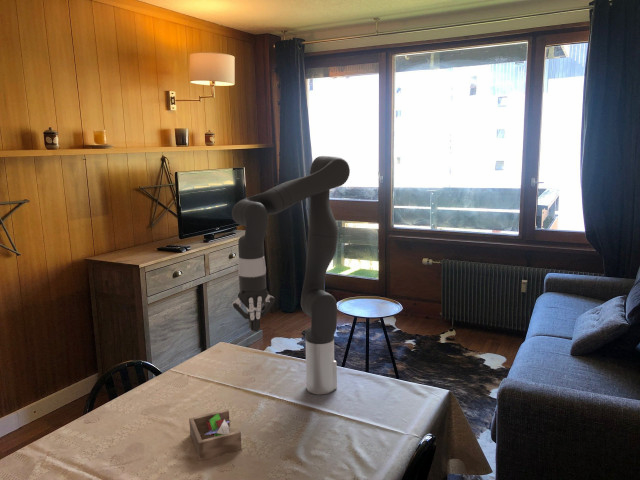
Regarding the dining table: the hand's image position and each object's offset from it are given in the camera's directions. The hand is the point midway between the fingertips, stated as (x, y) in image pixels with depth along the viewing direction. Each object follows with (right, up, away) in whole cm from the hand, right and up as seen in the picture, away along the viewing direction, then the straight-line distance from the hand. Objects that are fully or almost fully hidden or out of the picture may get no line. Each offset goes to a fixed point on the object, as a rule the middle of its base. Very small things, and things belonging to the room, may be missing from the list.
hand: (254, 330), depth 147 cm
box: (-9, -29, -7) cm, 31 cm away
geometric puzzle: (-9, -29, -5) cm, 31 cm away
